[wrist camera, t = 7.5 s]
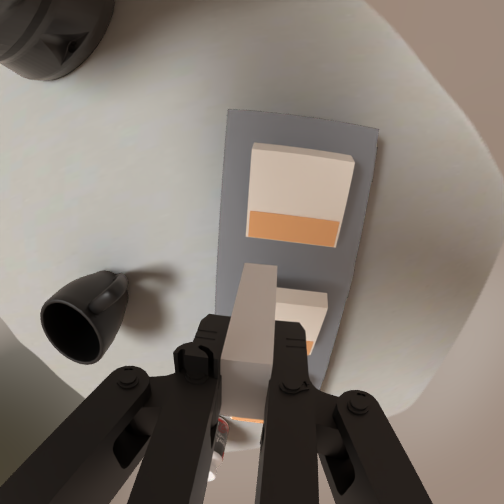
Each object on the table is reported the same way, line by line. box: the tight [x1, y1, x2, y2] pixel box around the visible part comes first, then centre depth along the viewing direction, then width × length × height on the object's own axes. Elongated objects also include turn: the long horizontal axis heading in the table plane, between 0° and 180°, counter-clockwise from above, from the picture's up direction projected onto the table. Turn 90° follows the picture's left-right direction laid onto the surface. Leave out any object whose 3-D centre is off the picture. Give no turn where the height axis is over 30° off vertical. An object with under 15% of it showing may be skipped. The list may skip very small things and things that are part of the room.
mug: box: [40, 271, 128, 365], centre depth 32 cm, size 8×12×10 cm
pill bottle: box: [208, 417, 229, 481], centre depth 40 cm, size 6×6×10 cm
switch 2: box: [275, 287, 328, 355], centre depth 28 cm, size 7×7×2 cm
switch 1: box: [246, 142, 355, 248], centre depth 24 cm, size 7×7×2 cm
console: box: [215, 109, 379, 416], centre depth 32 cm, size 34×12×6 cm, turn 175°
